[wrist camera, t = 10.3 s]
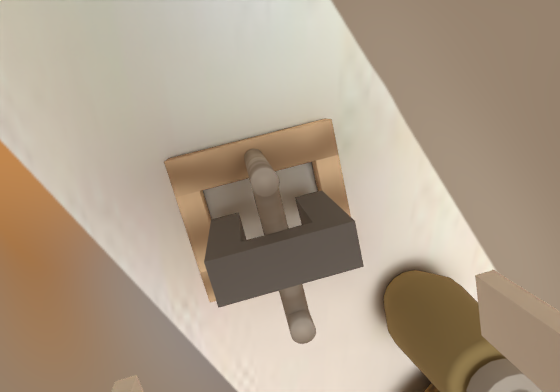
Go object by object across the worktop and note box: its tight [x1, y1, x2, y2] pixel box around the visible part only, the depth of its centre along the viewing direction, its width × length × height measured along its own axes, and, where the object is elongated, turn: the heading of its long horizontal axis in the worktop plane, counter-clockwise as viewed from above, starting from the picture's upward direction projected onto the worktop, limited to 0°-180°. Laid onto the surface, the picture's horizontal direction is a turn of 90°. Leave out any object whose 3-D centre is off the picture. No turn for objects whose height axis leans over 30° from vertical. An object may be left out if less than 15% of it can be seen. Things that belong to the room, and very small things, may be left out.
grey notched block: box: [204, 191, 363, 307], centre depth 26 cm, size 9×3×8 cm, turn 104°
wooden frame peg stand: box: [164, 119, 351, 344], centre depth 28 cm, size 13×14×12 cm
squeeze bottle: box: [384, 270, 543, 392], centre depth 29 cm, size 8×8×18 cm
